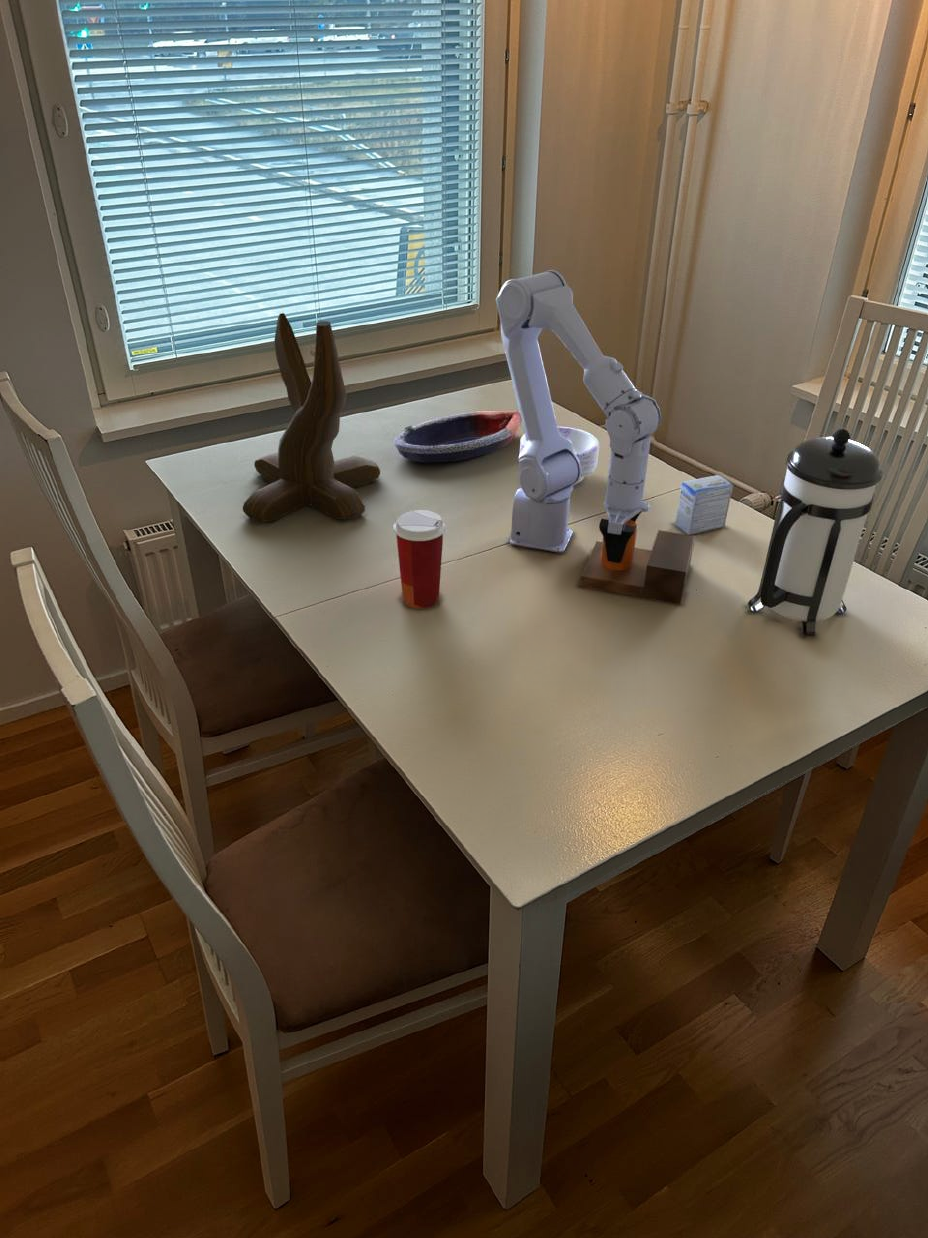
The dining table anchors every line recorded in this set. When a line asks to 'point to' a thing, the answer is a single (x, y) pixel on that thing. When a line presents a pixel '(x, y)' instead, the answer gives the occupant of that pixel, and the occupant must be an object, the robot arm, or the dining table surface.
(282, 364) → the wooden stand
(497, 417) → the dish
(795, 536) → the coffee press
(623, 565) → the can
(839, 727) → the dining table surface
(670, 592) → the shelf riser
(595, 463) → the paper bowls
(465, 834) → the dining table surface
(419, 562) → the paper cup
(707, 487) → the medicine box
